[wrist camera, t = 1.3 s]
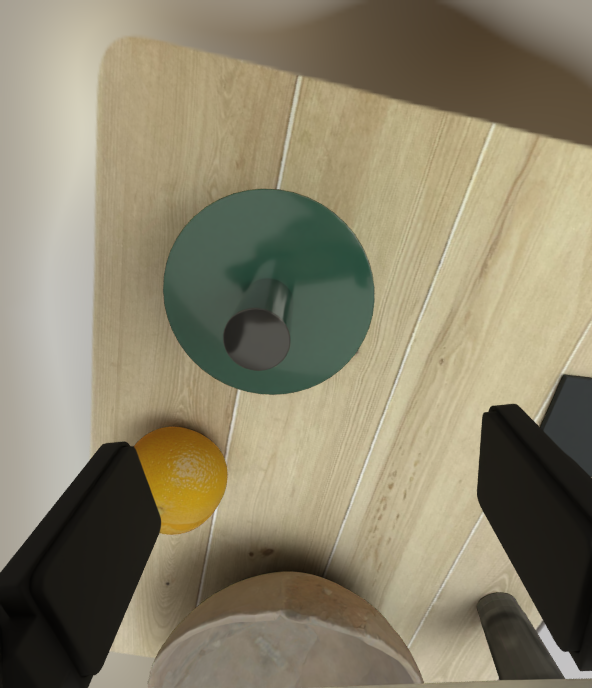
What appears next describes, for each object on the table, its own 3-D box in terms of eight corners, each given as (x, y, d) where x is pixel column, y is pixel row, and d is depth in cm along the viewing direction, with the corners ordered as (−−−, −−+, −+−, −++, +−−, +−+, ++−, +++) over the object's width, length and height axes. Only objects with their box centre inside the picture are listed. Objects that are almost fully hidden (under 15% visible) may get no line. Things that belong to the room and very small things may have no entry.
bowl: (181, 659, 49) (152, 769, 39) (174, 509, 39) (133, 609, 29) (379, 675, 49) (397, 788, 40) (424, 530, 39) (461, 636, 30)
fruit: (139, 471, 37) (97, 542, 29) (145, 403, 34) (101, 463, 26) (226, 488, 37) (207, 562, 30) (241, 423, 34) (224, 487, 27)
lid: (390, 203, 19) (430, 208, 13) (352, 394, 24) (369, 466, 18) (168, 175, 19) (102, 168, 13) (171, 375, 24) (124, 440, 17)
